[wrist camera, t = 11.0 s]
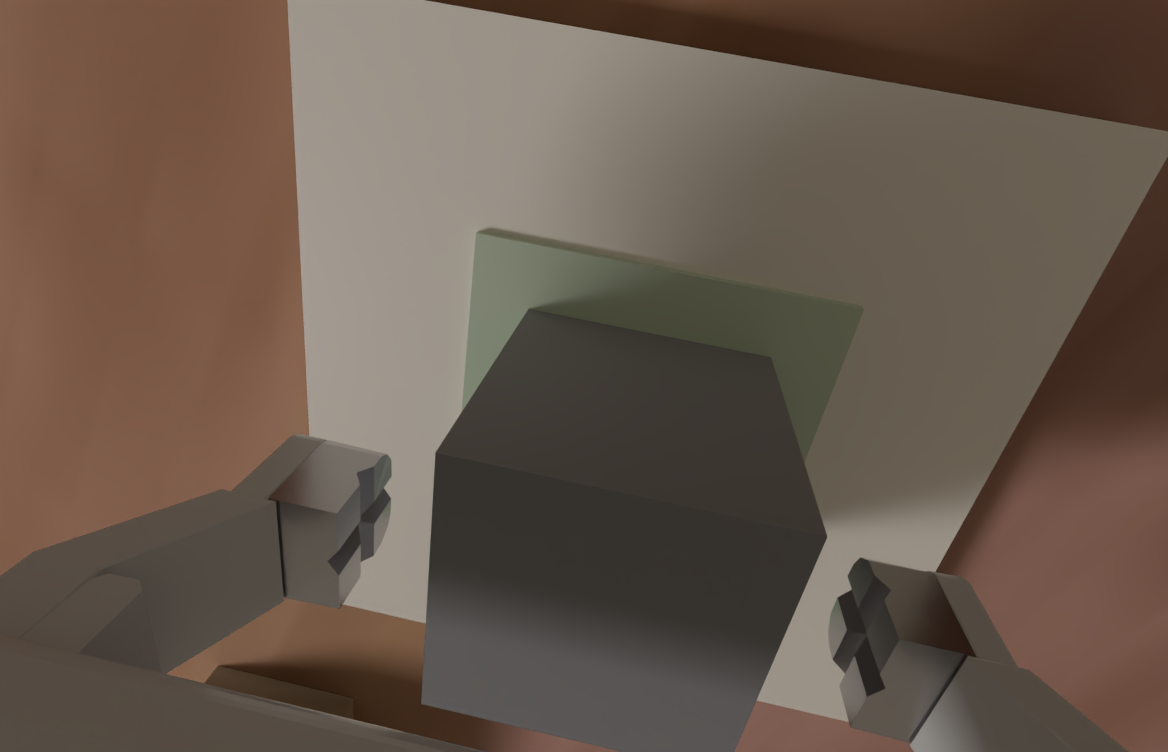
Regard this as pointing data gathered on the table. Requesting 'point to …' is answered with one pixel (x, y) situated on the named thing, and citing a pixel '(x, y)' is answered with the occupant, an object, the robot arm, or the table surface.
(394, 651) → the table surface
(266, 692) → the birch block
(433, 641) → the grey block
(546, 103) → the build board
